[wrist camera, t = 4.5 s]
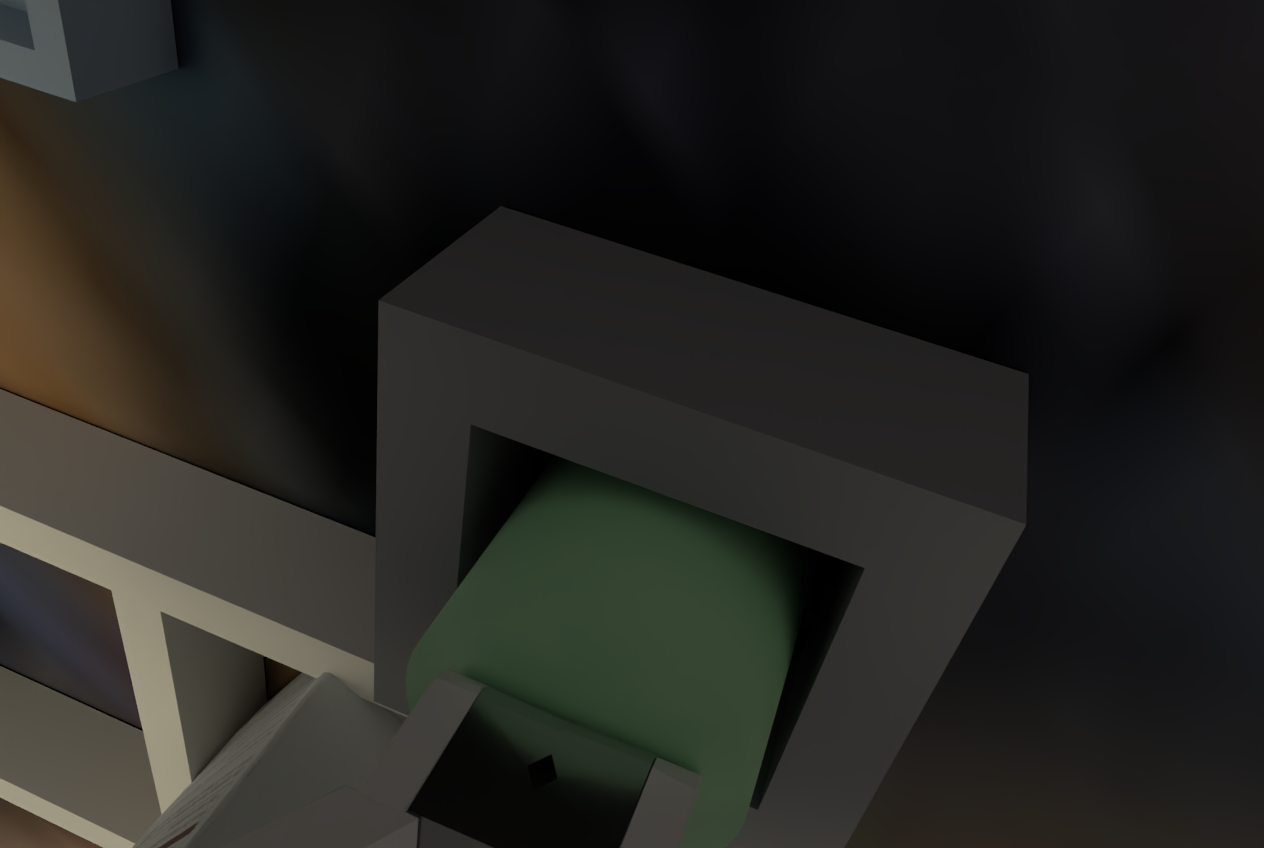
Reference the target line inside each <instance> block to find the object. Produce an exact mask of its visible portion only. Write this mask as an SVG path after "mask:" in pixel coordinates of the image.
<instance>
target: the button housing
mask: <svg viewBox="0 0 1264 848" xmlns="http://www.w3.org/2000/svg"><path fill="white" fill-rule="evenodd" d="M1028 387H1029V374H1027V373H1024V372H1020V371H1017V370H1014V369H1011V368H1008V367H1005V366H1002V365H998V364H995V363H992V362H989V361H986V360H983V359H980V358H976V357H973V356H970V355H967V354H964V353H961V352H958V351H955V350H951V349H948V348H945V347H942V346H939V345H936V344H933V343H929V342H926V341H923V340H920V339H917V338H914V337H911V336H907V335H904V334H901V333H898V332H895V331H892V330H889V329H885V328H882V327H879V326H876V325H873V324H870V323H867V322H863V321H860V320H857V319H854V318H851V317H848V316H845V315H841V314H838V313H835V312H832V311H829V310H826V309H823V308H819V307H816V306H813V305H810V304H807V303H804V302H801V301H797V300H794V299H791V298H788V297H785V296H782V295H779V294H775V293H772V292H769V291H766V290H763V289H760V288H757V287H753V286H750V285H747V284H744V283H741V282H738V281H735V280H731V279H728V278H725V277H722V276H719V275H716V274H713V273H709V272H706V271H703V270H700V269H697V268H694V267H691V266H688V265H684V264H681V263H678V262H675V261H672V260H669V259H666V258H662V257H659V256H656V255H653V254H650V253H647V252H644V251H640V250H637V249H634V248H631V247H628V246H625V245H622V244H618V243H615V242H612V241H609V240H606V239H603V238H600V237H596V236H593V235H590V234H587V233H584V232H581V231H578V230H574V229H571V228H568V227H565V226H562V225H559V224H556V223H552V222H549V221H546V220H543V219H540V218H537V217H534V216H530V215H527V214H524V213H521V212H518V211H515V210H512V209H508V208H505V207H502V206H500V207H499V208H498V209H496V210H495V211H494V212H493V213H491V214H490V215H489V216H487V217H486V218H485V219H483V220H482V221H481V222H480V223H478V224H477V225H476V226H474V227H473V228H472V229H470V230H469V231H468V232H467V233H465V234H464V235H463V236H461V237H460V238H459V239H458V240H456V241H455V242H454V243H452V244H451V245H450V246H448V247H447V248H446V249H445V250H443V251H442V252H441V253H439V254H438V255H437V256H435V257H434V258H433V259H432V260H430V261H429V262H428V263H426V264H425V265H424V266H423V267H421V268H420V269H419V270H417V271H416V272H415V273H413V274H412V275H411V276H410V277H408V278H407V279H406V280H404V281H403V282H402V283H400V284H399V285H398V286H397V287H395V288H394V289H393V290H391V291H390V292H389V293H387V294H386V295H385V296H384V297H382V298H381V299H380V300H379V308H378V390H377V472H376V554H375V636H374V701H375V702H377V703H379V704H382V705H384V706H386V707H389V708H391V709H393V710H396V711H398V712H400V713H403V714H405V715H407V716H408V715H409V714H410V710H409V705H408V700H407V696H406V673H407V666H408V663H409V660H410V657H411V654H412V652H413V650H414V648H415V647H416V645H417V644H418V642H419V641H420V639H421V638H422V636H423V635H424V634H425V632H426V631H427V629H428V628H429V627H430V625H431V624H432V623H433V621H434V620H435V618H436V617H437V616H438V614H439V613H440V612H441V610H442V609H443V607H444V606H445V605H446V603H447V602H448V601H449V599H450V598H451V596H452V595H453V594H454V592H455V591H456V590H457V588H458V587H459V586H460V584H461V583H462V581H463V580H464V579H465V577H466V576H467V575H468V573H469V572H470V570H471V569H472V568H473V566H474V565H475V564H476V562H477V561H478V559H479V558H480V557H481V555H482V554H483V553H484V551H485V550H486V548H487V547H488V546H489V544H490V543H491V542H492V540H493V539H494V537H495V536H496V535H497V533H498V532H499V531H500V529H501V528H502V526H503V525H504V524H505V522H506V521H507V520H508V518H509V517H510V516H511V514H512V513H513V511H514V510H515V509H516V507H517V506H518V505H519V503H520V502H521V500H522V499H523V498H524V496H525V495H526V494H527V492H528V491H529V489H530V488H531V487H532V485H533V484H534V483H535V481H536V480H537V478H538V477H539V476H540V474H541V473H542V472H543V470H544V469H545V467H546V466H547V465H548V463H549V461H550V454H553V455H556V456H559V457H562V458H564V459H567V460H570V461H573V462H575V463H578V464H581V465H584V466H586V467H589V468H592V469H594V470H597V471H600V472H603V473H605V474H608V475H611V476H614V477H616V478H619V479H622V480H625V481H627V482H630V483H633V484H636V485H638V486H641V487H644V488H647V489H649V490H652V491H655V492H657V493H660V494H663V495H666V496H668V497H671V498H674V499H677V500H679V501H682V502H685V503H688V504H690V505H693V506H696V507H699V508H701V509H704V510H707V511H710V512H712V513H715V514H718V515H721V516H723V517H726V518H729V519H731V520H734V521H737V522H740V523H742V524H745V525H748V526H751V527H753V528H756V529H759V530H762V531H764V532H767V533H770V534H773V535H775V536H778V537H781V538H784V539H786V540H789V541H792V542H794V543H797V544H800V545H803V546H805V547H808V548H811V549H814V550H816V551H819V552H822V553H825V554H827V555H830V556H833V557H836V558H838V559H840V560H839V563H838V565H837V568H836V570H835V572H834V575H833V577H832V579H831V582H830V584H829V587H828V589H827V591H826V594H825V596H824V599H823V601H822V603H821V606H820V608H819V611H818V613H817V615H816V618H815V620H814V623H813V625H812V627H811V630H810V632H809V635H808V637H807V639H806V642H805V644H804V647H803V649H802V651H799V650H797V649H794V651H793V655H792V658H791V662H790V665H789V669H788V672H787V676H786V679H785V683H784V686H783V690H782V693H781V697H780V700H779V704H778V707H777V711H776V714H775V718H774V721H773V725H772V728H771V732H770V735H769V739H768V743H767V746H766V750H765V753H764V757H763V760H762V764H761V767H760V771H759V774H758V778H757V781H756V785H755V788H754V792H753V795H752V799H751V802H750V806H749V809H748V813H747V816H746V819H745V822H744V824H743V826H742V828H741V830H740V831H739V833H738V835H737V836H736V837H735V838H734V839H733V840H732V842H731V843H730V844H729V845H728V846H727V847H725V848H845V846H846V844H847V842H848V841H849V839H850V837H851V835H852V834H853V832H854V830H855V828H856V826H857V825H858V823H859V821H860V819H861V818H862V816H863V814H864V812H865V810H866V809H867V807H868V805H869V803H870V802H871V800H872V798H873V796H874V794H875V793H876V791H877V789H878V787H879V786H880V784H881V782H882V780H883V778H884V777H885V775H886V773H887V771H888V770H889V768H890V766H891V764H892V762H893V761H894V759H895V757H896V755H897V754H898V752H899V750H900V748H901V747H902V745H903V743H904V741H905V739H906V738H907V736H908V734H909V732H910V731H911V729H912V727H913V725H914V723H915V722H916V720H917V718H918V716H919V715H920V713H921V711H922V709H923V707H924V706H925V704H926V702H927V700H928V699H929V697H930V695H931V693H932V691H933V690H934V688H935V686H936V684H937V683H938V681H939V679H940V677H941V675H942V674H943V672H944V670H945V668H946V667H947V665H948V663H949V661H950V659H951V658H952V656H953V654H954V652H955V651H956V649H957V647H958V645H959V644H960V642H961V640H962V638H963V636H964V635H965V633H966V631H967V629H968V628H969V626H970V624H971V622H972V620H973V619H974V617H975V615H976V613H977V612H978V610H979V608H980V606H981V604H982V603H983V601H984V599H985V597H986V596H987V594H988V592H989V590H990V588H991V587H992V585H993V583H994V581H995V580H996V578H997V576H998V574H999V572H1000V571H1001V569H1002V567H1003V565H1004V564H1005V562H1006V560H1007V558H1008V556H1009V555H1010V553H1011V551H1012V549H1013V548H1014V546H1015V544H1016V542H1017V540H1018V539H1019V537H1020V535H1021V533H1022V532H1023V530H1024V528H1025V526H1026V520H1027V453H1028Z"/></svg>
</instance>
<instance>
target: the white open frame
mask: <svg viewBox="0 0 1264 848" xmlns="http://www.w3.org/2000/svg"><path fill="white" fill-rule="evenodd" d="M0 542H1V543H3V544H5V545H8V546H10V547H12V548H15V549H17V550H19V551H22V552H24V553H26V554H29V555H31V556H33V557H36V558H38V559H40V560H43V561H45V562H47V563H50V564H52V565H54V566H57V567H59V568H61V569H63V570H66V571H68V572H70V573H73V574H75V575H77V576H80V577H82V578H84V579H87V580H89V581H91V582H94V583H96V584H98V585H101V586H103V587H105V588H108V589H110V590H111V591H112V595H113V600H114V604H115V608H116V613H117V617H118V622H119V626H120V631H121V635H122V640H123V644H124V649H125V653H126V658H127V662H128V666H129V671H130V675H131V680H132V684H133V689H134V693H135V698H136V702H137V707H138V711H139V716H140V720H141V724H142V729H143V731H141V730H139V729H137V728H134V727H132V726H130V725H128V724H126V723H124V722H121V721H119V720H117V719H115V718H113V717H110V716H108V715H106V714H104V713H102V712H100V711H97V710H95V709H93V708H91V707H89V706H87V705H84V704H82V703H80V702H78V701H76V700H73V699H71V698H69V697H67V696H65V695H63V694H60V693H58V692H56V691H54V690H52V689H49V688H47V687H45V686H43V685H41V684H39V683H36V682H34V681H32V680H30V679H28V678H25V677H23V676H21V675H19V674H17V673H15V672H12V671H10V670H8V669H6V668H4V667H1V666H0V797H1V798H3V799H5V800H7V801H9V802H11V803H13V804H15V805H17V806H19V807H21V808H23V809H25V810H27V811H29V812H31V813H33V814H35V815H38V816H40V817H42V818H44V819H46V820H48V821H50V822H52V823H54V824H56V825H58V826H60V827H62V828H64V829H66V830H68V831H70V832H72V833H74V834H76V835H78V836H81V837H83V838H85V839H87V840H89V841H91V842H93V843H95V844H97V845H99V846H101V847H103V848H132V847H133V846H134V845H135V844H136V842H137V841H138V840H139V839H140V838H141V837H142V836H143V835H144V833H145V832H146V831H147V830H148V829H149V828H150V827H151V826H152V825H153V823H154V822H155V821H156V820H157V819H158V818H159V817H160V816H161V815H162V814H163V813H164V811H165V810H166V809H167V808H168V807H169V806H170V805H171V804H172V803H173V802H174V801H175V800H176V798H177V797H178V796H179V795H180V794H181V793H182V792H183V791H184V789H186V788H187V787H188V786H189V785H190V784H191V783H192V782H193V781H194V779H195V778H196V777H197V776H198V775H199V774H200V773H201V771H202V770H203V769H204V768H205V767H206V766H207V765H208V764H209V762H210V761H211V760H212V759H213V758H214V757H215V756H216V754H217V753H218V752H219V751H220V750H221V749H222V748H223V747H224V745H225V744H226V743H227V742H228V741H229V740H230V739H231V737H232V736H233V735H234V734H235V733H236V732H237V731H238V730H239V729H240V728H241V727H242V725H243V724H244V723H245V722H246V721H247V720H248V719H249V718H250V717H252V716H253V715H254V714H255V713H256V712H257V711H258V710H259V709H260V708H262V707H263V706H264V705H265V704H266V703H267V692H266V681H265V670H264V660H263V656H266V657H268V658H270V659H272V660H275V661H277V662H279V663H282V664H284V665H286V666H289V667H291V668H293V669H296V670H298V671H300V672H303V673H305V674H307V675H310V676H312V677H314V678H318V677H319V676H320V675H321V674H323V673H324V672H329V673H331V674H333V675H334V676H335V677H336V678H338V679H339V680H340V681H341V682H343V683H344V684H345V685H346V686H347V687H349V688H350V689H351V690H352V691H353V692H355V693H356V694H357V695H358V696H359V697H361V698H363V699H365V700H368V701H370V702H372V703H375V704H377V705H379V706H382V707H384V708H386V709H389V710H391V711H393V712H396V713H398V714H400V715H403V716H405V717H408V716H407V715H405V714H403V713H400V712H398V711H396V710H393V709H391V708H389V707H386V706H384V705H382V704H379V703H377V702H375V701H374V636H375V554H376V538H375V537H373V536H370V535H368V534H365V533H363V532H360V531H357V530H355V529H352V528H350V527H347V526H345V525H342V524H340V523H337V522H335V521H332V520H330V519H327V518H325V517H322V516H320V515H317V514H315V513H312V512H309V511H307V510H304V509H302V508H299V507H297V506H294V505H292V504H289V503H287V502H284V501H282V500H279V499H277V498H274V497H272V496H269V495H267V494H264V493H262V492H259V491H256V490H254V489H251V488H249V487H246V486H244V485H241V484H239V483H236V482H234V481H231V480H229V479H226V478H224V477H221V476H219V475H216V474H214V473H211V472H208V471H206V470H203V469H201V468H198V467H196V466H193V465H191V464H188V463H186V462H183V461H181V460H178V459H176V458H173V457H171V456H168V455H166V454H163V453H160V452H158V451H155V450H153V449H150V448H148V447H145V446H143V445H140V444H138V443H135V442H133V441H130V440H128V439H125V438H123V437H120V436H118V435H115V434H112V433H110V432H107V431H105V430H102V429H100V428H97V427H95V426H92V425H90V424H87V423H85V422H82V421H80V420H77V419H75V418H72V417H70V416H67V415H64V414H62V413H59V412H57V411H54V410H52V409H49V408H47V407H44V406H42V405H39V404H37V403H34V402H32V401H29V400H27V399H24V398H22V397H19V396H17V395H14V394H11V393H9V392H6V391H4V390H1V389H0Z"/></svg>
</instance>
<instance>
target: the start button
mask: <svg viewBox="0 0 1264 848" xmlns="http://www.w3.org/2000/svg"><path fill="white" fill-rule="evenodd" d="M819 555H820V552H819V551H816V550H814V549H811V548H808V547H805V546H803V545H800V544H797V543H794V542H792V541H789V540H786V539H784V538H781V537H778V536H775V535H773V534H770V533H767V532H764V531H762V530H759V529H756V528H753V527H751V526H748V525H745V524H742V523H740V522H737V521H734V520H731V519H729V518H726V517H723V516H721V515H718V514H715V513H712V512H710V511H707V510H704V509H701V508H699V507H696V506H693V505H690V504H688V503H685V502H682V501H679V500H677V499H674V498H671V497H668V496H666V495H663V494H660V493H657V492H655V491H652V490H649V489H647V488H644V487H641V486H638V485H636V484H633V483H630V482H627V481H625V480H622V479H619V478H616V477H614V476H611V475H608V474H605V473H603V472H600V471H597V470H594V469H592V468H589V467H586V466H584V465H581V464H578V463H575V462H573V461H570V460H567V459H564V458H562V457H559V456H556V455H554V456H553V458H552V459H551V461H550V462H549V463H548V465H547V466H546V467H545V469H544V470H543V472H542V473H541V474H540V476H539V477H538V478H537V480H536V481H535V483H534V484H533V485H532V487H531V488H530V489H529V491H528V492H527V494H526V495H525V496H524V498H523V499H522V500H521V502H520V503H519V505H518V506H517V507H516V509H515V510H514V511H513V513H512V514H511V516H510V517H509V518H508V520H507V521H506V522H505V524H504V525H503V526H502V528H501V529H500V531H499V532H498V533H497V535H496V536H495V537H494V539H493V540H492V542H491V543H490V544H489V546H488V547H487V548H486V550H485V551H484V553H483V554H482V555H481V557H480V558H479V559H478V561H477V562H476V564H475V565H474V566H473V568H472V569H471V570H470V572H469V573H468V575H467V576H466V577H465V579H464V580H463V581H462V583H461V584H460V586H459V587H458V588H457V590H456V591H455V592H454V594H453V595H452V596H451V598H450V599H449V601H448V602H447V603H446V605H445V606H444V607H443V609H442V610H441V612H440V613H439V614H438V616H437V617H436V618H435V620H434V621H433V623H432V624H431V625H430V627H429V628H428V629H427V631H426V632H425V634H424V635H423V636H422V638H421V639H420V641H419V642H418V644H417V645H416V647H415V648H414V650H413V652H412V654H411V657H410V660H409V663H408V666H407V673H406V696H407V700H408V705H409V710H410V712H411V711H412V709H413V708H414V707H415V705H416V704H417V702H418V701H419V699H420V698H421V696H422V695H423V693H424V692H425V690H426V689H427V688H428V686H429V685H430V683H431V682H432V680H433V679H434V678H435V677H436V676H438V675H439V674H440V673H441V672H442V671H443V670H444V669H445V668H446V669H449V670H451V671H454V672H456V673H459V674H461V675H463V676H466V677H468V678H471V679H473V680H475V681H478V682H480V683H483V684H485V685H487V686H489V687H491V688H493V689H495V690H498V691H500V692H502V693H504V694H507V695H509V696H511V697H514V698H516V699H518V700H521V701H523V702H525V703H528V704H530V705H532V706H535V707H537V708H539V709H541V710H544V711H546V712H548V713H551V714H553V715H555V716H558V717H560V718H562V719H565V720H567V721H569V722H571V721H572V722H575V723H577V724H580V725H583V726H585V727H588V728H590V729H593V730H595V731H598V732H600V733H603V734H605V735H608V736H610V737H613V738H615V739H618V740H620V741H623V742H625V743H628V744H630V745H633V746H635V747H638V748H640V749H643V750H645V751H648V752H650V753H653V754H655V755H656V759H657V757H658V758H661V759H663V760H666V761H668V762H671V763H673V764H676V765H678V766H681V767H684V768H686V769H689V770H691V771H694V772H696V773H699V774H701V775H702V777H701V782H700V787H699V790H698V793H697V796H696V799H695V802H694V804H693V807H692V810H691V813H690V816H689V819H688V822H687V825H686V828H685V831H684V834H683V837H682V840H681V843H680V846H679V848H725V847H727V846H728V845H729V844H730V843H731V842H732V840H733V839H734V838H735V837H736V836H737V835H738V833H739V831H740V830H741V828H742V826H743V824H744V822H745V819H746V816H747V813H748V809H749V806H750V802H751V799H752V795H753V792H754V788H755V785H756V781H757V778H758V774H759V771H760V767H761V764H762V760H763V757H764V753H765V750H766V746H767V743H768V739H769V735H770V732H771V728H772V725H773V721H774V718H775V714H776V711H777V707H778V704H779V700H780V697H781V693H782V690H783V686H784V683H785V679H786V676H787V672H788V669H789V665H790V662H791V658H792V655H793V651H794V647H795V644H796V640H797V637H798V633H799V630H800V626H801V623H802V619H803V616H804V612H805V609H806V605H807V602H808V598H809V595H810V591H811V588H812V584H813V581H814V577H815V574H816V570H817V566H818V563H819ZM655 761H656V760H655Z"/></svg>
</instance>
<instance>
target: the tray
mask: <svg viewBox="0 0 1264 848" xmlns="http://www.w3.org/2000/svg"><path fill="white" fill-rule="evenodd" d="M174 70H178V60H177V52H176V43H175V34H174V25H173V16H172V7H171V0H0V78H3V79H6V80H9V81H13V82H16V83H19V84H22V85H25V86H28V87H31V88H34V89H37V90H40V91H43V92H46V93H49V94H53V95H56V96H59V97H62V98H65V99H68V100H71V101H74V102H78V101H81V100H85V99H88V98H91V97H94V96H97V95H100V94H103V93H106V92H109V91H112V90H116V89H119V88H122V87H125V86H128V85H131V84H134V83H137V82H140V81H143V80H147V79H150V78H153V77H156V76H159V75H162V74H165V73H168V72H171V71H174Z"/></svg>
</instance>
